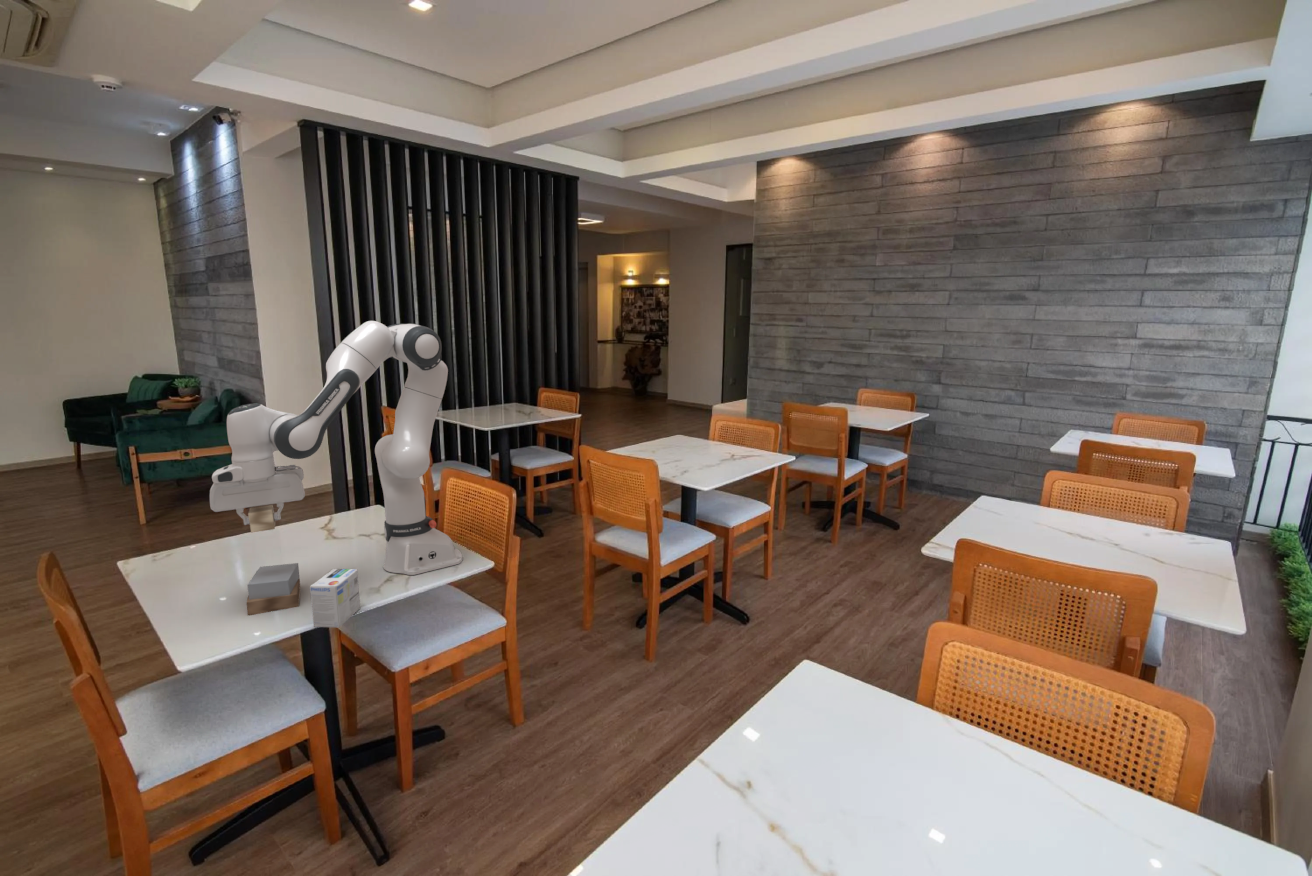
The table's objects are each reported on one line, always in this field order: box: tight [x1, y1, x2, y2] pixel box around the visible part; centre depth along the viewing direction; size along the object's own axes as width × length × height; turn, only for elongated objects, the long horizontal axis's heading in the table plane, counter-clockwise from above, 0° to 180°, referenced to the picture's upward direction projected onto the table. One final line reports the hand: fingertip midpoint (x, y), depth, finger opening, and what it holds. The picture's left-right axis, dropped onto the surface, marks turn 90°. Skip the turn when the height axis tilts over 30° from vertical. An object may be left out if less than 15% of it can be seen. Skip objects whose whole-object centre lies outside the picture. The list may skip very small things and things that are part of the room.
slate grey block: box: [246, 562, 300, 600], centre depth 164 cm, size 9×12×4 cm
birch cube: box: [247, 504, 276, 533], centre depth 159 cm, size 5×5×5 cm
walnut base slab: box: [245, 577, 301, 616], centre depth 165 cm, size 11×14×4 cm
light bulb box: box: [309, 568, 361, 628], centre depth 155 cm, size 11×7×11 cm, turn 178°
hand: (262, 521), depth 159 cm, fingers closed on birch cube, 5 cm apart
